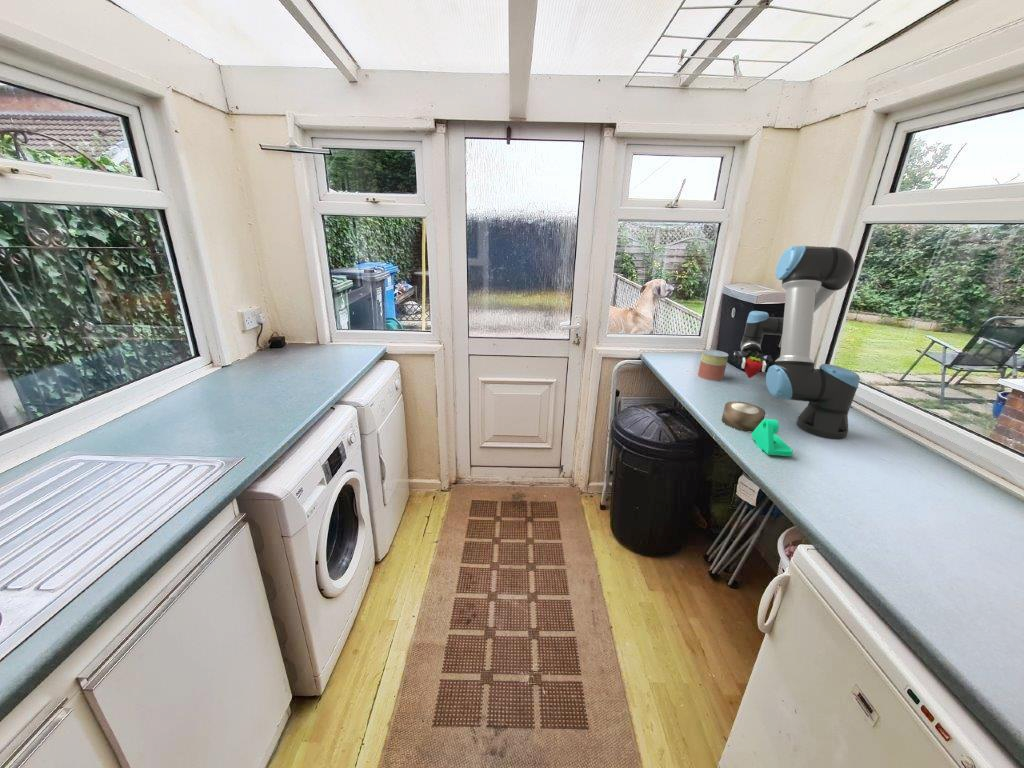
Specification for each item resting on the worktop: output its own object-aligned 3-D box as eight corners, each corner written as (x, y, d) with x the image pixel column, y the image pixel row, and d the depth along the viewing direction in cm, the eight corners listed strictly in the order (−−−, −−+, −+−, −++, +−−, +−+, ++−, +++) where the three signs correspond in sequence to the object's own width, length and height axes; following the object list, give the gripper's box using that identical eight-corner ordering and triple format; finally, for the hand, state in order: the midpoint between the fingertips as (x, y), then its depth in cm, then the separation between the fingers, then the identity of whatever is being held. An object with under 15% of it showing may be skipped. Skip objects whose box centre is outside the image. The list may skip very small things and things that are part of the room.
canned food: (727, 381, 195) (733, 357, 191) (703, 380, 195) (708, 356, 191) (716, 373, 206) (722, 350, 201) (693, 372, 206) (698, 349, 201)
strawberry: (751, 374, 168) (758, 351, 165) (762, 381, 161) (768, 356, 158) (737, 374, 168) (743, 350, 164) (747, 380, 161) (753, 356, 157)
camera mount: (792, 459, 130) (801, 430, 126) (766, 457, 131) (775, 428, 127) (773, 441, 141) (782, 413, 138) (750, 439, 142) (758, 411, 138)
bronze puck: (761, 421, 155) (765, 406, 153) (761, 435, 144) (766, 419, 142) (722, 413, 161) (726, 398, 159) (720, 425, 150) (724, 410, 148)
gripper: (774, 364, 175) (780, 380, 156) (724, 356, 183) (723, 371, 163) (779, 347, 172) (786, 361, 153) (728, 340, 180) (728, 353, 161)
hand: (753, 366), depth 158 cm, fingers closed on strawberry, 6 cm apart
